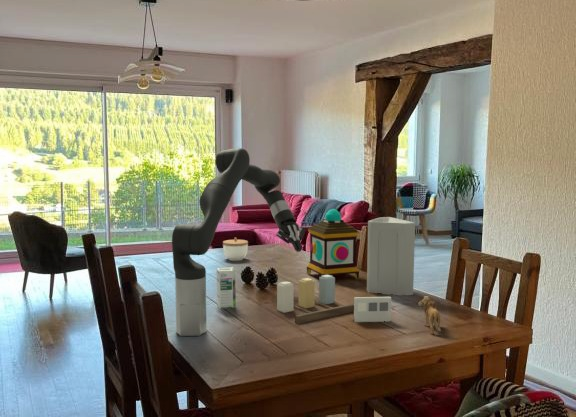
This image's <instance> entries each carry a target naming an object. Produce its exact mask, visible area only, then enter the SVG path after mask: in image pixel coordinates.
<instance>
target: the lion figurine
mask: <svg viewBox="0 0 576 417" xmlns="http://www.w3.org/2000/svg"><path fill="white" fill-rule="evenodd" d="M418 306H419V308H420V309H423V311H424V315H425V323H424V326H425V327H428V326H429V327H430V330H431V331H430V332H429V333H430V335H434V333H435V332H434V331H435V330H436V331H437V334H438V335H440V336H441V335H442V333H441V332H442V329H441V315H440V312H439V310H438V307H437V306H438V305H436V302H435V300H434V299H433V298H432V297H430V296H428V295H426V296H423V298H422V299H421V300H420V301H419V302H418ZM434 327H435V330H434Z"/></svg>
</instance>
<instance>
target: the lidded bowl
mask: <svg viewBox="0 0 576 417" xmlns="http://www.w3.org/2000/svg"><path fill="white" fill-rule="evenodd" d="M222 247H223V248H222V249H223V253H224V256H225V257H226V258H227V259H228V261H233V262H235V261H243V259H244V258H245V257H246V255H247V254H248V248H249V241H248V240H245V239H238V238H237V237H234V239H227V240H223V241H222Z"/></svg>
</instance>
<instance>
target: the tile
mask: <svg viewBox="0 0 576 417" xmlns="http://www.w3.org/2000/svg"><path fill="white" fill-rule="evenodd" d="M353 299H354V300H353V304H354V312H353V322H354V323H369V322H370V323H378V322H381V323H382V322H383V323H384V321H385V322H391V321H392V320H391V318H392V316H391V315H392V297H391V296H363V297H362V296H359V297H357V296H356V297H355V296H354V298H353Z"/></svg>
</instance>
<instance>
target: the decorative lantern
mask: <svg viewBox="0 0 576 417" xmlns="http://www.w3.org/2000/svg"><path fill="white" fill-rule="evenodd" d="M324 216H325V217H324V218H323V219H322V220H321V221H319V222H318V223H317V224H312V226H309V228H308V229H307V231H308V233H309V238H310V239H309V244H310V245H309V247H310V248H309V252H310V253H309V258H310V259H309V263H308V264H307V266H306V273H307V274H308V275H311V273H312V272H314V273H316V274H318V275H320V277H321V276H322V275H331V276H340V275H349V274H354V278H355V280H358V279H359V277H360V271H359V268H358V267H357V266H358V265H357V238H358V235H359V233H360V231H358V230H357V229H356V228H355V227H354V226H351V225H350V224H348V223H347V222H345V220H343V219H342V215H341V213H340V211H338V210H337V209H336V208H335V209H334V208H332V209H329V210H328V211H327V212H326V213H325V215H324Z"/></svg>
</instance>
